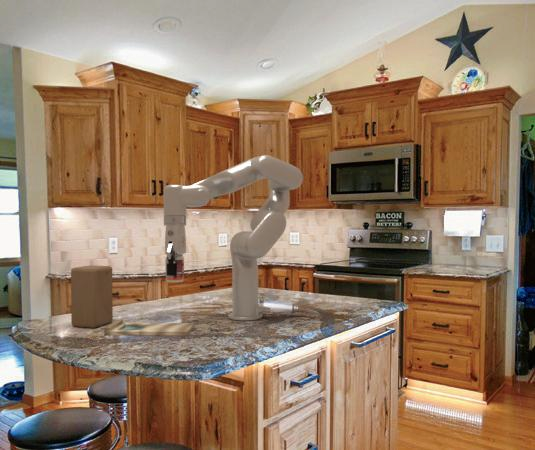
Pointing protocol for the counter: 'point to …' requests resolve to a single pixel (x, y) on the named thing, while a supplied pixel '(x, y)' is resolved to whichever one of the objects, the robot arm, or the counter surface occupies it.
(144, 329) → the board
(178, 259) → the pill bottle
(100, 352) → the counter surface
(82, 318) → the wooden block
